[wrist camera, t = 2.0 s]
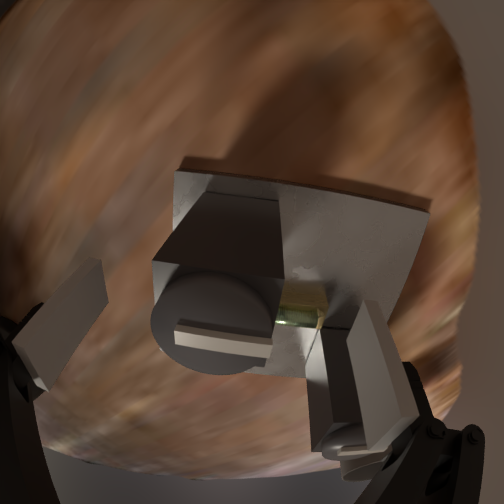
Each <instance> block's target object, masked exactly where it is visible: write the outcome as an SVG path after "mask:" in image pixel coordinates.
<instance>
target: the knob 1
mask: <svg viewBox="0 0 504 504" xmlns="http://www.w3.org/2000/svg"><path fill="white" fill-rule="evenodd" d="M152 271H153V286H154V298H155V306H154V308H153V311H152V314H151V329H152V333H153V336H154V338H155V340H156V342H157V343H158V345H159V346H160V351H164V352H165V353H166V354H167V355H168V356H169V357H171V358H172V359H173V360H175V361H176V362H178V363H179V364H181V365H183V366H185V367H187V368H189V369H192V370H195V371H198V372H201V373H206V374H213V375H230V374H237V373H241V372H244V371H247V370H249V369H251V368H253V367H255V366H256V367H265V363H266V359H267V358H270V354H271V350H272V346H273V339H272V334H273V330H274V326H275V321H276V317H277V313H278V308H279V304H280V299H281V295H282V290H283V286H284V281H285V274H284V259H283V244H282V231H281V218H280V206H279V202H276V201H269V200H262V199H255V198H247V197H239V196H232V195H224V194H215V193H206V192H203V193H202V195H201V196H200V197H199V198H198V200H197V201H196V202H195V203H194V205H193V206H192V207H191V209H190V210H189V211H188V212H187V214H186V215H185V216H184V218H183V219H182V220H181V222H180V223H179V224H178V225H177V227H176V228H175V229H174V231H173V232H172V233H171V235H170V236H169V237H168V239H167V240H166V242H165V243H164V244H163V246H162V247H161V248H160V250H159V251H158V252H157V254H156V255H155V257H154V258H153V259H152Z"/></svg>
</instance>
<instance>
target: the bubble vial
mask: <svg viewBox="0 0 504 504" xmlns="http://www.w3.org/2000/svg"><path fill="white" fill-rule="evenodd" d="M328 309H329V306H328V302H327V298H326V296H322V295H313V294H305V293H297V292H289V291H282V295H281V299H280V304H279V308H278V313H277V317H276V321H275V325H282V326H292V327H301V328H311V329H322V326H323V323H324V320H325V317H326V315H327V312H328Z"/></svg>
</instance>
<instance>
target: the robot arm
mask: <svg viewBox="0 0 504 504" xmlns="http://www.w3.org/2000/svg"><path fill="white" fill-rule="evenodd" d="M108 303H109V302H108V297H107V291H106V286H105V281H104V275H103V269H102V262H101V259H95V258H90V257H89V258H88V259H87V260H86V261H85V262H84V263H83V264H82V265H81V266H80V267H79V268H78V269H77V270H76V271H75V272H74V273H73V274H72V275H71V276H70V277H69V278H68V279H67V280H66V281H65V282H64V283H63V284H62V285H61V286H60V287H59V288H58V289H57V290H56V292H55V293H54V294H53V295H52V296H51V297H50V298H49V299H48V300H47V301H46V302H45V303H43V302H41V303H40V304H38V305H36V306H35V307H33V308H32V309H31V310H30V312H29V313H28V314H27V316H25V317H24V318H23V319H22V322H20V323H19V324H18V325H16V324H15V323H13V322H12V321H10V320H8V319H6V318H4V317H0V504H60V501H59V499H58V496H57V493H56V491H55V488H54V485H53V482H52V479H51V476H50V473H49V470H48V466H47V463H46V459H45V456H44V452H43V448H42V444H41V440H40V436H39V431H38V427H37V422H36V416H35V411H34V405H33V401H34V400H35V399H36V398H37V397H39V396H40V395H41V394H42V393H43V392H44V391H48V392H49V391H50V390H51V388H52V386H53V385H54V383H55V381H56V380H57V378H58V376H59V375H60V373H61V372H62V370H63V368H64V367H65V365H66V364H67V362H68V361H69V359H70V358H71V356H72V354H73V353H74V351H75V350H76V348H77V347H78V345H79V344H80V342H81V341H82V339H83V338H84V336H85V335H86V334H87V332H88V331H89V329H90V328H91V326H92V325H93V323H94V322H95V321H96V319H97V318H98V316H99V315H100V314H101V312H102V311H103V309H104V308H105V307H106V305H107V304H108ZM346 341H347V346H348V350H349V354H350V359H351V363H352V368H353V373H354V378H355V383H356V387H357V393H358V398H359V403H360V408H361V414H362V420H363V425H364V431H365V438H366V444H367V451H376V450H384V449H385V448H387V447H388V446H389V445H390V444H391V445H392V451H391V452H390V453H389V454H387V455H386V456H385V457H384V458H383V459H382V460H381V461H382V462H383V461H384V460H385V461H384V462H383V464H382V466H381V467H380V469H379V470H378V472H377V473H376V474H375V476H374V477H373V479H372V480H371V482H370V483H369V484H368V486H367V487H366V488H365V490H364V491H363V493H362V494H361V495H360V497H359V498H358V499H357V500H356V502H355V503H354V504H478V502H479V496H480V489H481V482H482V474H483V464H484V449H485V437H484V433H483V431H482V430H481V429H480V428H479V427H478V426H476V425H473V424H471V425H468V426H466V427H465V428H464V429H463V430H462V431H459V430H453V429H447V428H446V426H445V424H444V423H443V422H442V421H441V420H439V419H437V418H434V416H433V414H432V411H431V408H430V405H429V402H428V399H427V396H426V393H425V391H424V389H423V385H422V382H420V377H419V375H418V372H417V370H416V369H415V367H414V366H413V365H412V364H411V363H410V362H402V361H401V359H400V356H399V353H398V351H397V348H396V345H395V343H394V340H393V338H392V335H391V333H390V330H389V328H388V325H387V323H386V320H385V318H384V316H383V313H382V311H381V308H380V306H379V304H378V301H373V300H364V299H363V302H362V304H361V307H360V309H359V312H358V314H357V317H356V319H355V321H354V324H353V326H352V328H351V331H350V333H349V335H348V337H347V340H346Z"/></svg>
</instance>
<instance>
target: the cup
mask: <svg viewBox="0 0 504 504" xmlns="http://www.w3.org/2000/svg"><path fill="white" fill-rule="evenodd" d="M391 451H392V445H391V444H390V445H389V446H388V448H387V449H386V450H385V451H384V452H377V453H372V454H370V455H367V456H364V457H361V458H357V459H352V460H342V461H340V466H341V476H342V480H344V481H348V482H357V481H364V480H370V479H373V477H374V476H375V474H376V473H377V472H378V470H379V469H380V467H381V466H382V464H383V462H384V461H385V460H384V461H383V462H382V461H381V460H382V459H383V458H384V457H385V456H386V455H387V454H389V453H390V452H391Z"/></svg>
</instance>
